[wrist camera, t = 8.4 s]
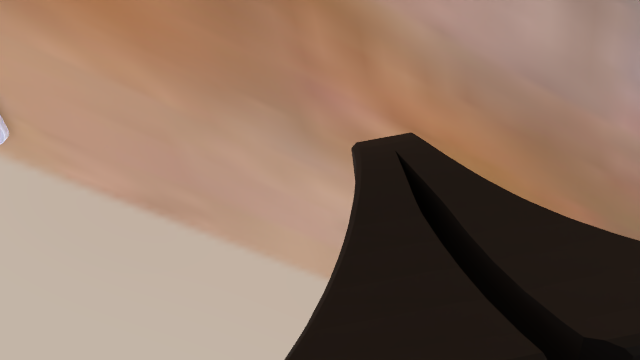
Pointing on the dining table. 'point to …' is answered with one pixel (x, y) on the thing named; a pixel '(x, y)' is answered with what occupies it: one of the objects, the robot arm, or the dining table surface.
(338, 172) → the dining table surface
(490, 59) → the dining table surface
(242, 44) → the dining table surface
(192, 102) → the dining table surface
